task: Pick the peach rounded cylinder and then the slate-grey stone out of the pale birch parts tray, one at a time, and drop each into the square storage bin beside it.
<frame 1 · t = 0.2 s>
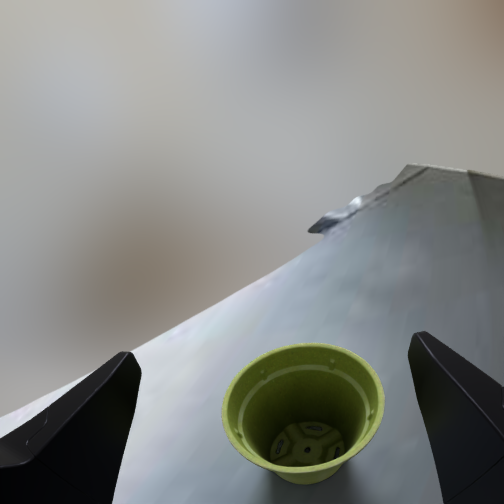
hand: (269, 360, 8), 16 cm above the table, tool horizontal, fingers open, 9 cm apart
plant pot: (307, 454, 19), on the table
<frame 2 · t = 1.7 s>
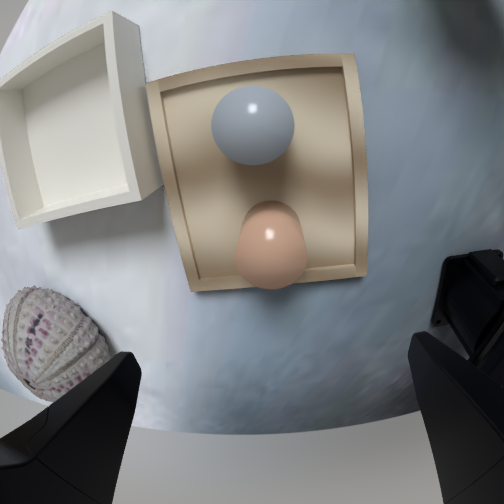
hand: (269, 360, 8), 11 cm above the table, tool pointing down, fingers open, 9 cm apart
square storage bin: (79, 124, 16), on the table
slate pebble: (257, 124, 15), point 1 cm above the table, touching parts tray
sea urchin shell: (67, 330, 25), on the table
peach rounded cylinder: (271, 228, 18), point 1 cm above the table, touching parts tray
parts tray: (265, 176, 17), on the table
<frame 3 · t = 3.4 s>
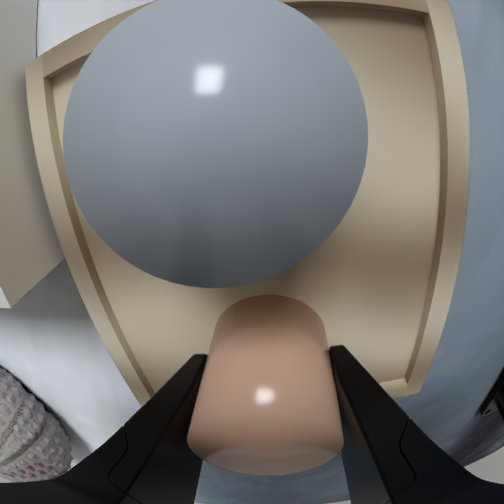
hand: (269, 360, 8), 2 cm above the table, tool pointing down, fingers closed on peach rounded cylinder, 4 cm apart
slate pebble: (238, 127, 6), point 1 cm above the table, touching parts tray
sea urchin shell: (19, 396, 16), on the table
peach rounded cylinder: (269, 340, 9), point 1 cm above the table, touching gripper, parts tray
parts tray: (257, 241, 8), on the table
when the fingers open (5 cm above the table, at t = 6.3 s): peach rounded cylinder drops 3 cm, resting on square storage bin.
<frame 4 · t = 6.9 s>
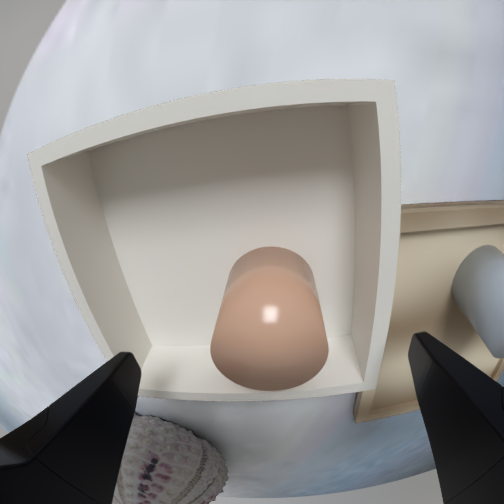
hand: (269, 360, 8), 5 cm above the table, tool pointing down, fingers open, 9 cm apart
square storage bin: (229, 243, 12), on the table
slate pebble: (478, 277, 11), point 1 cm above the table, touching parts tray
sea urchin shell: (158, 438, 21), on the table
peach rounded cylinder: (271, 286, 12), point 1 cm above the table, touching square storage bin
parts tray: (459, 320, 13), on the table
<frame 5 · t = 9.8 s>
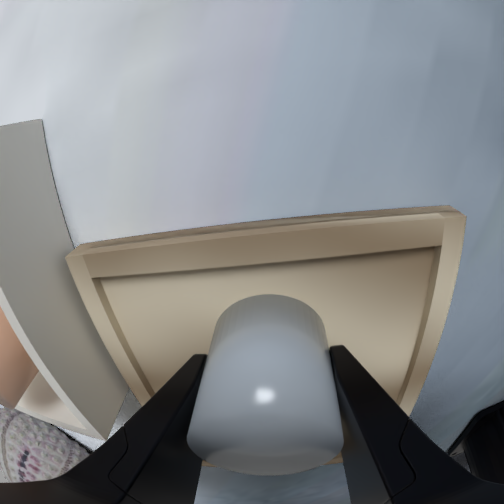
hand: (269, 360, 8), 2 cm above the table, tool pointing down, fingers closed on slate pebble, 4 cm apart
square storage bin: (4, 277, 10), on the table
slate pebble: (269, 340, 9), point 1 cm above the table, touching gripper, parts tray
sea urchin shell: (57, 437, 19), on the table
peach rounded cylinder: (29, 317, 10), point 1 cm above the table, touching square storage bin
parts tray: (278, 386, 11), on the table
when the fingers open (5 cm above the table, at t = 12.9 s): slate pebble drops 3 cm, resting on square storage bin.
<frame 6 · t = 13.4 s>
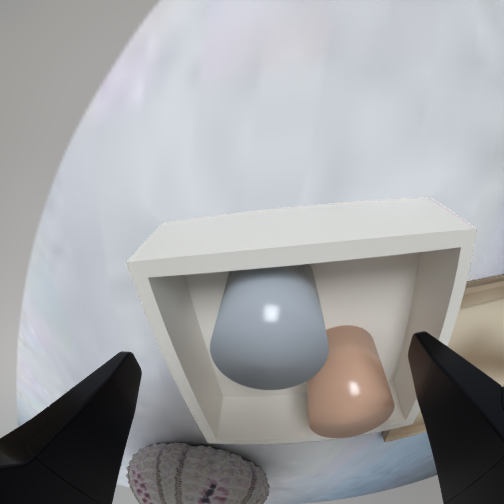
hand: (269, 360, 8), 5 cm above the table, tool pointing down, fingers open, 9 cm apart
square storage bin: (307, 320, 14), on the table
slate pebble: (271, 285, 12), point 1 cm above the table, touching square storage bin
sea urchin shell: (202, 461, 23), on the table
peach rounded cylinder: (339, 352, 14), point 1 cm above the table, touching square storage bin
parts tray: (474, 360, 15), on the table
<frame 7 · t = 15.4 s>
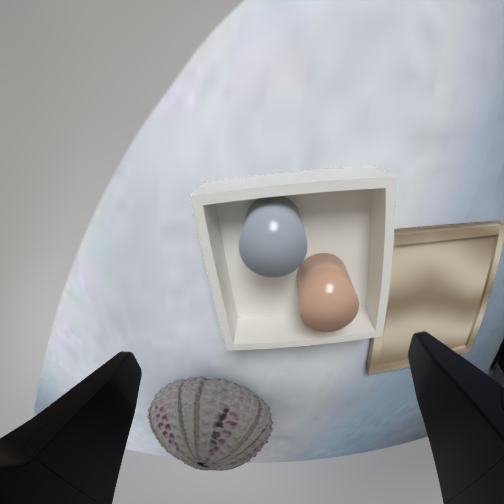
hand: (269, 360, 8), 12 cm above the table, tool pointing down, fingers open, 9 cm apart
square storage bin: (298, 251, 20), on the table
slate pebble: (273, 221, 19), point 1 cm above the table, touching square storage bin
sea urchin shell: (214, 403, 30), on the table
peach rounded cylinder: (321, 275, 20), point 1 cm above the table, touching square storage bin
parts tray: (436, 300, 22), on the table
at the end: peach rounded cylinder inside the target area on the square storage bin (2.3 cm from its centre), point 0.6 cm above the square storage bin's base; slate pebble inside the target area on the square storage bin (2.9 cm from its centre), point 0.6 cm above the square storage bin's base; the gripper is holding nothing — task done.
